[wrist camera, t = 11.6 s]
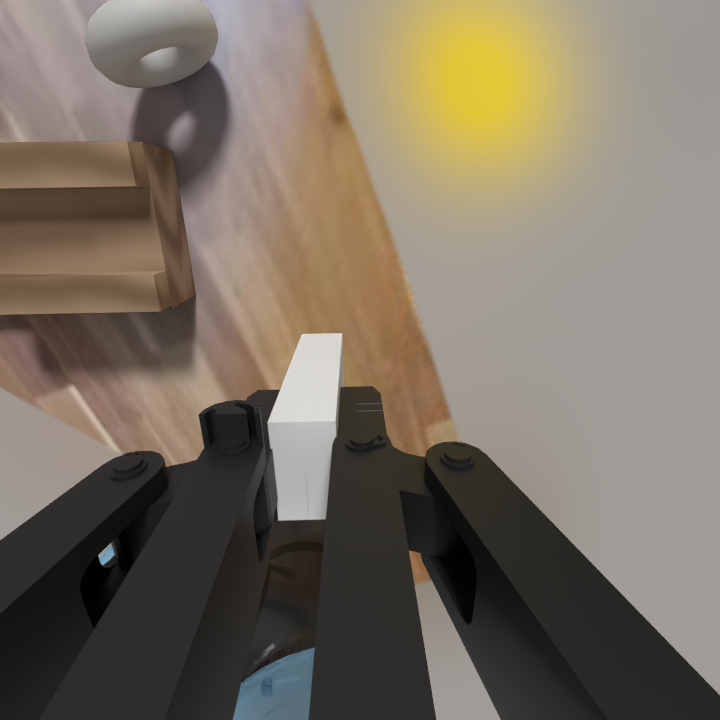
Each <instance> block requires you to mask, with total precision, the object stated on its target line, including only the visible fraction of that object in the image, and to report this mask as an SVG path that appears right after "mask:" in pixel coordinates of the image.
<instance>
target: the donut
mask: <svg viewBox="0 0 720 720" xmlns="http://www.w3.org/2000/svg"><path fill="white" fill-rule="evenodd" d="M217 42H218V31H217V27H216V24H215V21H214V18H213V15H212V14H211V12H210V10H209V8H208V7H207V6H206V5H205V4H204V3H203V2H202V1H200V0H110V1H108V2H106V3H105V4H103V5H102V6H100V8H99V9H98V10H97V11H96V12H95V13H94V14H93V15H92V17H91V18H90V21H89V24H88V27H87V30H86V33H85V44H86V47H87V50H88V54H89V56H90V59H91V61H92V63H93V64H94V66H95V67H96V69H98V70H99V71H100V72H101V73H102V74H103V75H104V76H106V77H107V78H108V79H109V80H111V81H113V82H115V83H117V84H120V85H123V86H126V87H133V88H151V87H159V86H163V85H167V84H171V83H174V82H177V81H179V80H182V79H184V78H186V77H188V76H190V75H192V74H194V73H196V72H197V71H198V70H199V69H201V68H202V67H203V66H204V65H205V64H206V63H207V62H208V61H209V60H210V58H211V57H212V56H213V55H214V52H215V49H216V45H217Z"/></svg>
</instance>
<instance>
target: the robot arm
mask: <svg viewBox="0 0 720 720" xmlns="http://www.w3.org/2000/svg"><path fill="white" fill-rule="evenodd" d="M199 419H200V425H201V430H202V436H203V441H204V449H203V451H202V452H201V454H200V456H199V457H198V459H197V460H195V461H191V462H188V463H183V464H178V465H173V466H169V467H166V466H165V461H164V458H163V457H162V456H161V455H160V454H159V453H156V452H153V451H135V452H133V453H132V452H130V453H126V454H124V455H122V456H119V457H116V458H114V459H112V460H110V461H109V462H107V463H105V464H103V465H102V466H101V467H99V468H98V469H97V470H95V471H94V472H92V473H91V474H90V475H88V476H87V477H86V478H84V479H83V480H82V481H80V482H79V483H77V484H76V485H75V486H74V487H72V488H71V489H70V490H68V491H67V492H66V493H64V494H63V495H61V496H60V497H58V498H57V499H56V500H54V501H53V502H52V503H50V504H49V505H48V506H46V507H45V508H44V509H42V510H41V511H40V512H38V513H37V514H36V515H34V516H33V517H32V518H30V519H29V520H27V521H26V522H25V523H23V524H22V525H20V526H19V527H18V528H17V529H15V530H14V531H12V532H11V533H10V534H8V535H7V536H6V537H4V538H3V539H1V540H0V720H436V716H435V710H434V704H433V697H432V691H431V685H430V679H429V672H428V666H427V660H426V654H425V648H424V642H423V636H422V629H421V623H420V617H419V611H418V605H417V598H416V592H415V586H414V580H413V573H412V567H411V561H410V555H409V550H411V551H415V552H418V553H421V557H422V561H423V563H424V565H425V567H426V569H427V571H428V573H429V575H430V577H431V579H432V581H433V583H434V585H435V587H436V589H437V592H438V593H439V596H440V598H441V600H442V602H443V604H444V606H445V608H446V610H447V612H448V614H449V615H450V618H451V620H452V622H453V624H454V626H455V628H456V630H457V632H458V634H459V636H460V638H461V640H462V642H463V644H464V646H465V648H466V650H467V652H468V654H469V656H470V658H471V660H472V662H473V664H474V666H475V668H476V670H477V672H478V674H479V676H480V678H481V680H482V682H483V684H484V686H485V688H486V690H487V692H488V694H489V696H490V698H491V700H492V702H493V705H494V707H495V709H496V711H497V713H498V715H499V717H500V719H501V720H720V695H719V694H718V693H717V692H716V691H715V690H714V689H713V688H712V687H711V686H710V685H709V684H708V683H707V682H706V681H705V680H704V679H703V678H702V677H701V676H700V675H699V673H698V672H697V671H696V670H695V669H694V668H693V667H692V666H691V665H690V664H689V663H688V662H687V661H686V660H685V659H684V658H683V657H682V656H681V655H680V654H679V653H678V652H677V651H676V650H675V649H674V648H673V647H672V646H671V645H670V644H669V643H668V642H667V640H666V639H665V638H664V637H662V635H661V634H660V633H659V632H658V631H657V630H656V629H655V628H654V627H653V626H652V625H651V624H650V623H649V622H648V621H647V620H646V619H645V618H644V617H643V616H642V615H641V614H640V613H639V612H638V611H637V610H636V609H635V608H634V606H632V604H631V603H630V602H628V600H627V599H626V598H625V597H624V596H623V595H622V594H621V593H620V592H619V591H618V590H617V589H616V588H615V587H614V586H613V585H612V584H611V583H610V582H609V581H608V580H607V579H606V578H605V577H604V576H603V574H602V573H601V572H600V571H599V570H597V568H596V567H595V566H594V565H593V564H592V563H591V562H590V561H589V560H588V559H587V558H586V557H585V556H584V555H583V554H582V553H581V552H580V551H579V550H578V549H577V548H576V547H575V546H574V545H573V544H572V543H571V541H569V540H568V538H567V537H566V536H565V535H564V534H563V533H562V532H561V531H560V530H559V529H558V528H557V527H556V526H555V525H554V524H553V523H552V522H551V521H550V520H549V519H548V518H547V517H546V516H545V515H544V514H543V513H542V512H541V511H540V510H539V508H538V507H536V506H535V504H533V502H532V501H531V500H530V499H529V498H528V497H527V496H526V495H525V494H524V493H523V492H522V491H521V490H520V489H519V488H518V487H517V486H516V485H515V484H514V483H513V482H512V481H511V480H510V479H509V478H508V477H507V476H506V474H504V472H503V471H502V470H501V469H500V468H499V467H498V466H497V465H496V464H495V463H494V462H493V461H492V460H491V459H490V458H489V457H488V456H487V455H486V454H485V453H483V452H482V451H481V450H480V449H478V448H476V447H474V446H471V445H469V444H466V443H462V442H442V443H439V444H436V445H433V446H432V447H431V448H430V449H428V450H427V453H426V456H425V457H421V456H415V455H411V454H407V453H404V452H402V451H400V450H398V449H396V448H395V447H393V446H392V444H391V441H390V439H389V437H388V436H387V433H386V427H385V420H384V414H383V407H382V400H381V394H380V393H379V392H378V391H377V390H376V389H375V388H374V387H373V386H366V387H344V371H343V341H342V333H331V334H302V336H301V338H300V341H299V343H298V346H297V348H296V351H295V353H294V356H293V359H292V361H291V364H290V366H289V369H288V371H287V374H286V376H285V379H284V382H283V384H282V387H281V389H280V390H258V391H256V392H255V393H253V394H252V395H251V396H249V397H248V398H247V399H246V401H243V400H234V401H225V402H222V403H218V404H214V405H212V406H210V407H208V408H206V409H205V410H203V411H202V412H201V413H200V414H199ZM110 543H111V545H110V546H109V547H108V548H107V549H106V550H105V551H104V553H103V554H102V555H101V556H100V557H98V555H99V554H100V552H102V551H103V550H104V549H105V548H106V547H107V546H108V545H109V544H110Z"/></svg>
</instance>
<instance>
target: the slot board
mask: <svg viewBox="0 0 720 720" xmlns="http://www.w3.org/2000/svg"><path fill="white" fill-rule="evenodd" d="M195 295H196V293H195V287H194V280H193V274H192V268H191V262H190V256H189V250H188V244H187V237H186V231H185V225H184V219H183V213H182V207H181V200H180V194H179V188H178V182H177V176H176V170H175V164H174V157H173V151H171V150H168V149H165V148H161V147H158V146H155V145H152V144H149V143H145V142H142V141H139V142H129V141H85V142H15V143H0V315H7V314H58V313H110V312H161V311H162V310H164V309H166V308H174V307H176V306H178V305H179V304H181V303H183V302H185V301H186V300H188V299H190V298H192V297H194V296H195Z"/></svg>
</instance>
